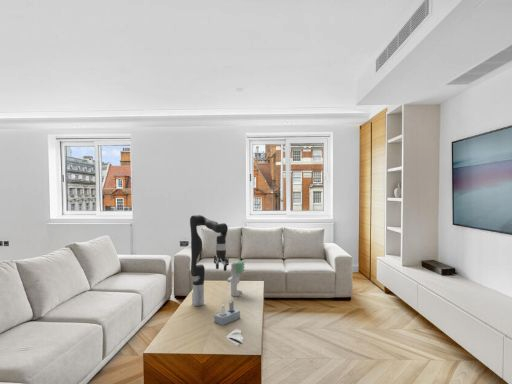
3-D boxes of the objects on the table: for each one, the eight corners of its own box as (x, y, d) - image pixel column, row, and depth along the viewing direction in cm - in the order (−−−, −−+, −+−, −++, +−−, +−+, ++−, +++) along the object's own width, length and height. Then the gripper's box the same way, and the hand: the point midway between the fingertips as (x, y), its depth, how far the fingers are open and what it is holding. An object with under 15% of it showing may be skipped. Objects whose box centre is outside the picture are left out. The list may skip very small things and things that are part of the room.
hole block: (214, 321, 233) (214, 315, 233) (231, 314, 247) (231, 308, 247) (222, 325, 227) (222, 318, 227) (240, 317, 241) (239, 310, 241)
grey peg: (228, 317, 240) (228, 301, 240) (231, 316, 243) (231, 300, 243) (231, 319, 238) (231, 302, 238) (234, 317, 241) (234, 301, 241)
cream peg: (219, 321, 233) (219, 305, 233) (222, 320, 236) (222, 304, 236) (222, 322, 231) (222, 306, 231) (225, 321, 234) (225, 305, 234)
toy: (238, 300, 280) (238, 265, 280) (227, 299, 282) (227, 265, 282) (247, 289, 309) (247, 258, 309) (237, 289, 311) (237, 258, 311)
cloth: (229, 329, 222) (229, 325, 222) (249, 330, 221) (249, 326, 221) (221, 347, 197) (221, 343, 197) (243, 348, 195) (243, 344, 195)
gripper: (211, 248, 251) (211, 269, 251) (224, 250, 242) (224, 272, 242) (218, 247, 256) (218, 267, 257) (231, 249, 247) (231, 270, 247)
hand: (221, 269), depth 249 cm, fingers open, 8 cm apart
